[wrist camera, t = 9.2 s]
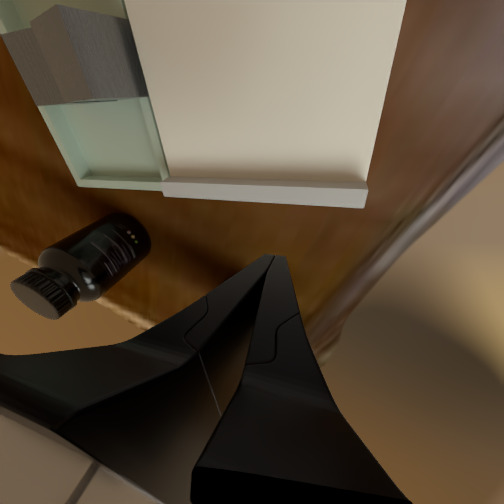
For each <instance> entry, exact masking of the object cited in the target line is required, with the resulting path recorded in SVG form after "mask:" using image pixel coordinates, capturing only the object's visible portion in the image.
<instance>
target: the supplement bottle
mask: <svg viewBox="0 0 504 504" xmlns="http://www.w3.org/2000/svg"><path fill="white" fill-rule="evenodd" d="M150 249H151V242H150V238H149V236H148V234H147V232H146V231H145V229H144V228H143V227H142V226H141V224H140V223H138V222H137V221H136V220H135V219H133V218H132V217H130V216H128V215H125V214H121V213H111V214H109V215H106V216H105V217H103V218H101V219H99V220H97V221H95V222H93V223H91V224H90V225H88V226H86V227H84V228H82V229H80V230H79V231H77V232H75V233H73V234H71V235H69V236H68V237H66V238H64V239H62V240H60V241H58V242H57V243H55V244H53V245H51V246H49V247H48V248H46V249H45V250H43V251H42V252H41V254H40V256H39V258H38V268H32V269H30V270H28V271H27V272H26V273H25V274H24V275H22V276H20V277H19V278H17V279H15V280H14V281H12V282H11V284H10V287H11V290H12V291H13V293H14V294H15V296H16V297H17V298H18V299H19V300H20V301H22V303H23V304H25V305H26V306H27V307H28V308H30V309H31V310H33V311H34V312H36V313H38V314H39V315H41V316H44V317H46V318H49V319H53V320H55V319H59V318H60V317H61V316H62V315H64V314H65V313H66V312H68V311H69V310H71V309H72V308H74V307H75V306H76V305H77V301H80V302H89V301H93V300H96V299H98V298H100V297H101V296H102V295H103V294H105V293H106V292H107V291H108V290H109V289H110V288H111V287H113V286H114V285H115V284H116V283H117V282H118V281H119V280H121V279H122V278H123V277H124V276H125V275H126V274H127V273H128V272H130V271H131V270H132V269H133V268H134V267H135V266H136V265H138V264H139V263H140V262H141V261H142V260H143V259H144V258H145V257H146V256H147V255H148V254H149V252H150Z"/></svg>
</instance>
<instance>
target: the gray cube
mask: <svg viewBox="0 0 504 504" xmlns="http://www.w3.org/2000/svg"><path fill="white" fill-rule="evenodd" d="M1 37H2V39H3V41H4V43H5V45H6V47H7V49H8V51H9V53H10V55H11V57H12V59H13V61H14V63H15V65H16V66H17V68H18V70H19V72H20V74H21V76H22V78H23V80H24V82H25V84H26V86H27V88H28V90H29V92H30V94H31V96H32V98H33V100H34V102H35V104H36V106H49V105H71V104H89V103H101V102H113V101H117V100H107V101H86V102H65V101H64V99H63V97H62V94H61V92H60V90H59V88H58V85H57V83H56V81H55V79H54V76H53V74H52V72H51V70H50V67H49V65H48V63H47V61H46V58H45V56H44V54H43V52H42V49H41V47H40V45H39V43H38V40H37V38H36V36H35V34H34V31H33V29H32V27H31V28H26V29H22V30H18V31H14V32H9V33H5V34H1Z"/></svg>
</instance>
